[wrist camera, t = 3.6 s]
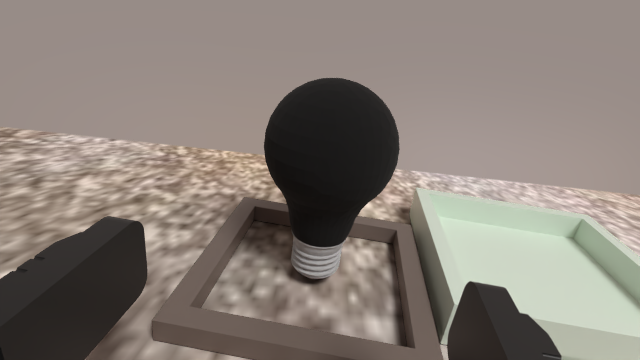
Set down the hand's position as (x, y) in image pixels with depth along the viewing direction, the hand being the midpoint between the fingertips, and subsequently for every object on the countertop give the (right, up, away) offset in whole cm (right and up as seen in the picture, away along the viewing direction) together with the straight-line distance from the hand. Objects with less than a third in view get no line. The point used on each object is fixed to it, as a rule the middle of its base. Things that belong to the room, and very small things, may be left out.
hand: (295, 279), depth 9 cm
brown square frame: (0, -3, +10) cm, 10 cm away
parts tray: (+12, -3, +12) cm, 17 cm away
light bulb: (0, -3, +10) cm, 10 cm away
